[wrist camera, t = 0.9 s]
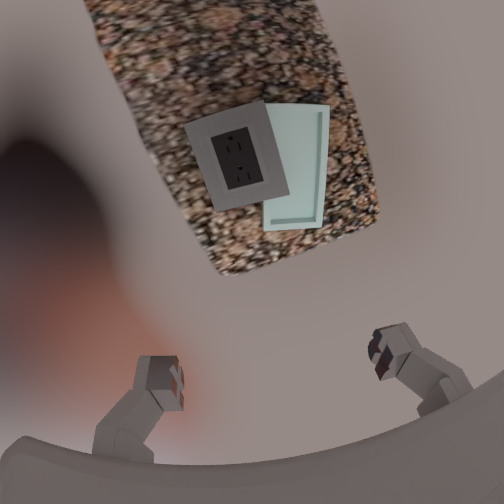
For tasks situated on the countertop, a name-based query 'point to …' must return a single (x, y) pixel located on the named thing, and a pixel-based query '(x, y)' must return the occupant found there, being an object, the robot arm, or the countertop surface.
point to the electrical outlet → (238, 156)
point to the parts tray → (299, 165)
